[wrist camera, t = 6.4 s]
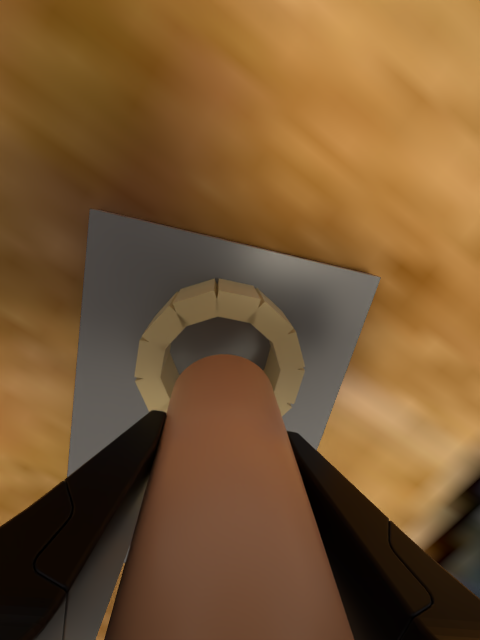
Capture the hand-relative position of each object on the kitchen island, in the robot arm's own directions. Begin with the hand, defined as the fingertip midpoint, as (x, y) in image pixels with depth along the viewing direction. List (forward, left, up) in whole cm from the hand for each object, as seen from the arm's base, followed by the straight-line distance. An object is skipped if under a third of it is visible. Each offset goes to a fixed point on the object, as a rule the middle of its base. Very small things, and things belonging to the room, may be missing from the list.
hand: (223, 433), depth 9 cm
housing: (-5, 0, -7) cm, 9 cm away
